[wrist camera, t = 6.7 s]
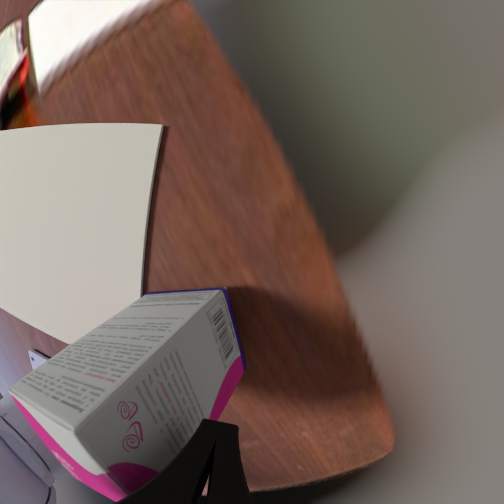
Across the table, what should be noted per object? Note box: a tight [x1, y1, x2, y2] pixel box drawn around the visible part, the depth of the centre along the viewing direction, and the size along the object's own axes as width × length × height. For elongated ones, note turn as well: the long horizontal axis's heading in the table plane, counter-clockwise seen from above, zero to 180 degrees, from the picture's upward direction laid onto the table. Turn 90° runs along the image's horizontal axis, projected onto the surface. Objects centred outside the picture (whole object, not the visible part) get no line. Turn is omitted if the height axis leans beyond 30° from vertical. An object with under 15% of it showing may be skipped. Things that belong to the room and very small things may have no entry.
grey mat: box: [0, 123, 164, 345], centre depth 17 cm, size 17×18×1 cm
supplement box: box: [8, 287, 246, 502], centre depth 12 cm, size 6×6×12 cm
